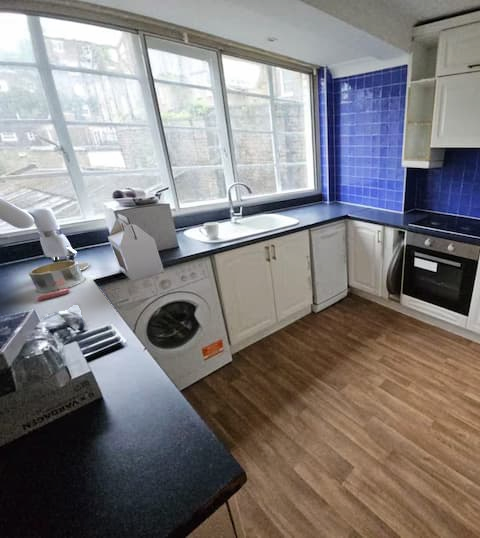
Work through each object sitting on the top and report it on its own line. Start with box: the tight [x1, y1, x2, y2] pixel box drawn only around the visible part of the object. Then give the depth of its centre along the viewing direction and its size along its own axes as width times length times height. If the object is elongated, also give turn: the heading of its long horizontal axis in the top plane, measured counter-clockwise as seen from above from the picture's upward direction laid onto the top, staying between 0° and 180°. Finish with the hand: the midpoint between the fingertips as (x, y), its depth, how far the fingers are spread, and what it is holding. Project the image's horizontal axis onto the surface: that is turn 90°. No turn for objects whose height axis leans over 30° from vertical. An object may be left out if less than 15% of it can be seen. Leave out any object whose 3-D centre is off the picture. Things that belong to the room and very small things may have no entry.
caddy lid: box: [59, 257, 90, 271], centre depth 148 cm, size 17×17×7 cm
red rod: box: [36, 288, 71, 302], centre depth 122 cm, size 10×2×2 cm, turn 139°
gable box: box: [107, 213, 165, 282], centre depth 140 cm, size 22×13×28 cm, turn 49°
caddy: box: [28, 260, 85, 293], centre depth 132 cm, size 16×16×8 cm
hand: (66, 267), depth 148 cm, fingers open, 5 cm apart
